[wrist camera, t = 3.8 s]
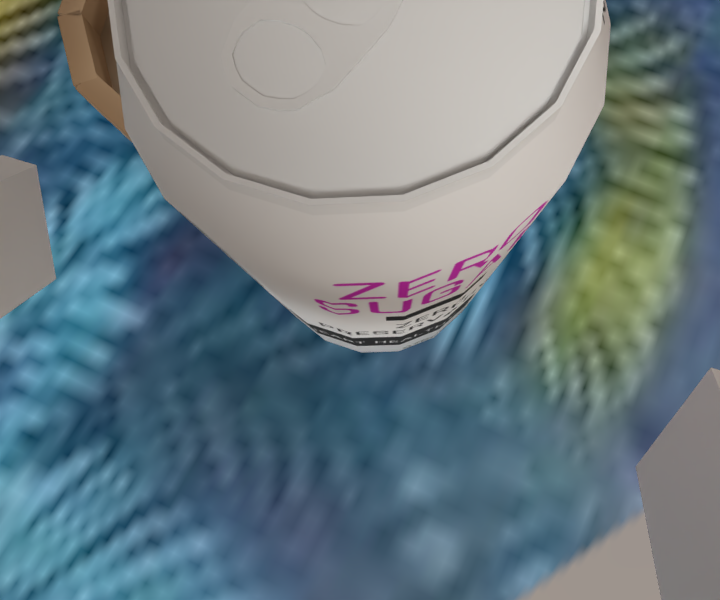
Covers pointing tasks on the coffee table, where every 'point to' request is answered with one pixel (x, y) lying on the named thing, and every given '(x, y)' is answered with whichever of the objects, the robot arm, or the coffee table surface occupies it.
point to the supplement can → (362, 141)
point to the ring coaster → (92, 56)
